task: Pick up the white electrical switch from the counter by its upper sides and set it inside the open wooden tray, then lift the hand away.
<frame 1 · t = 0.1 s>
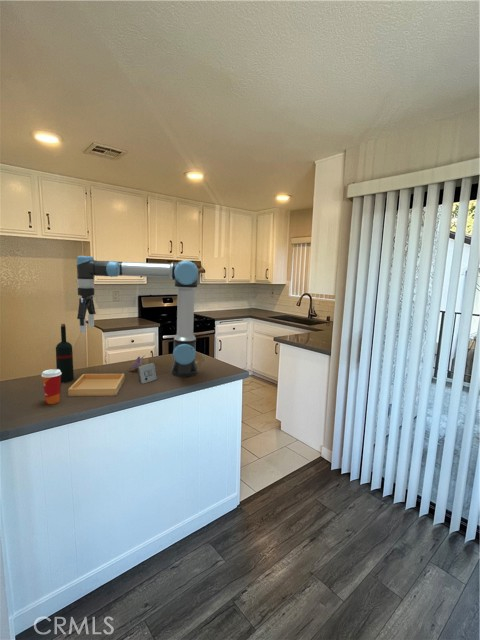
hand: (87, 329, 162), 28 cm above the countertop, tool pointing down, fingers open, 13 cm apart
lily: (137, 371, 187), on the countertop
electrical switch: (146, 381, 172), on the countertop
paper cup: (53, 402, 142), on the countertop
wooden tray: (98, 387, 160), on the countertop
wine bottle: (65, 379, 168), on the countertop
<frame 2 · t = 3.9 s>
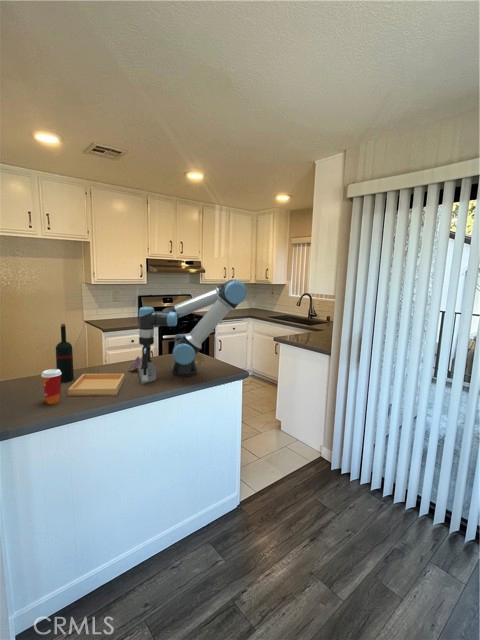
hand: (146, 377, 172), 2 cm above the countertop, tool pointing down, fingers closed on electrical switch, 9 cm apart
electrical switch: (146, 381, 172), on the countertop, touching gripper
everything else where it was.
when the fingers open (4 cm above the countertop, at t = 10.8 s): electrical switch drops 1 cm, resting on wooden tray.
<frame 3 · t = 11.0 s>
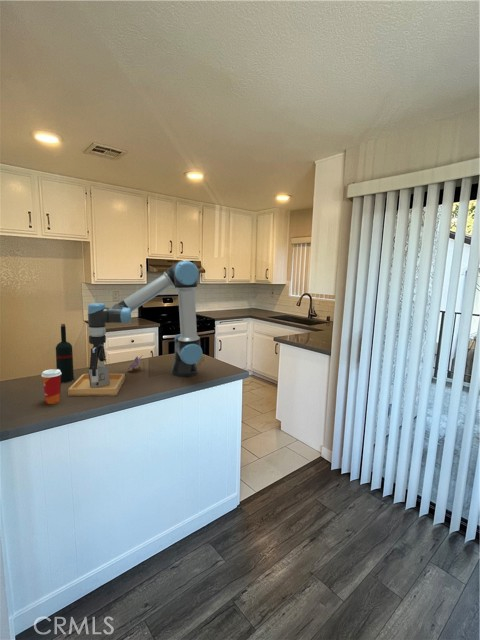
hand: (98, 377, 159), 5 cm above the countertop, tool pointing down, fingers open, 11 cm apart
electrical switch: (98, 386, 159), point 1 cm above the countertop, touching wooden tray
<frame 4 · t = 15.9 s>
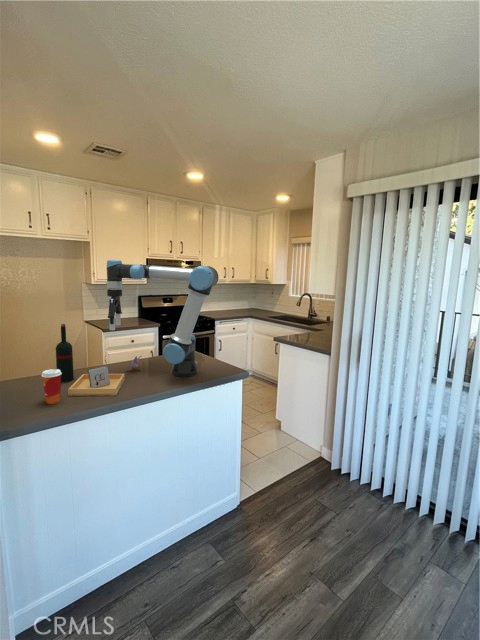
hand: (115, 327, 175), 27 cm above the countertop, tool pointing down, fingers open, 13 cm apart
at the end: electrical switch inside the target area on the wooden tray (0.1 cm from its centre), point 0.8 cm above the wooden tray's base; electrical switch tilted 1°; the gripper is holding nothing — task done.
